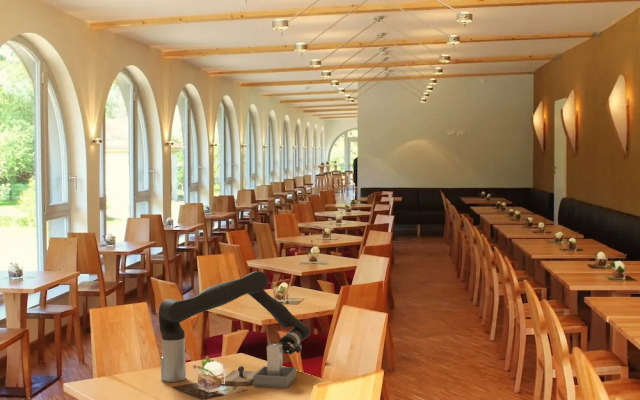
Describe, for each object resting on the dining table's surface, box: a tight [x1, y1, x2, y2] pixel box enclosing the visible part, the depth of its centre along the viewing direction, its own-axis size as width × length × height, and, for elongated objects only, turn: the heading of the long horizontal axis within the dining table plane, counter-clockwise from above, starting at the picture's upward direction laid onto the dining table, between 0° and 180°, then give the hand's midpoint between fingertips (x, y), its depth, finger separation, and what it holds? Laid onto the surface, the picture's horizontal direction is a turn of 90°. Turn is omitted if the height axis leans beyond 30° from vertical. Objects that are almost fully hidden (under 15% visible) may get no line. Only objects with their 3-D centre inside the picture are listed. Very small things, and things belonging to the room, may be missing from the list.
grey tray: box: [252, 366, 297, 389], centre depth 310 cm, size 14×14×4 cm
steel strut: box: [266, 343, 284, 376], centre depth 310 cm, size 5×5×14 cm
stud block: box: [224, 365, 259, 387], centre depth 316 cm, size 12×16×6 cm
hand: (279, 352), depth 317 cm, fingers open, 8 cm apart
